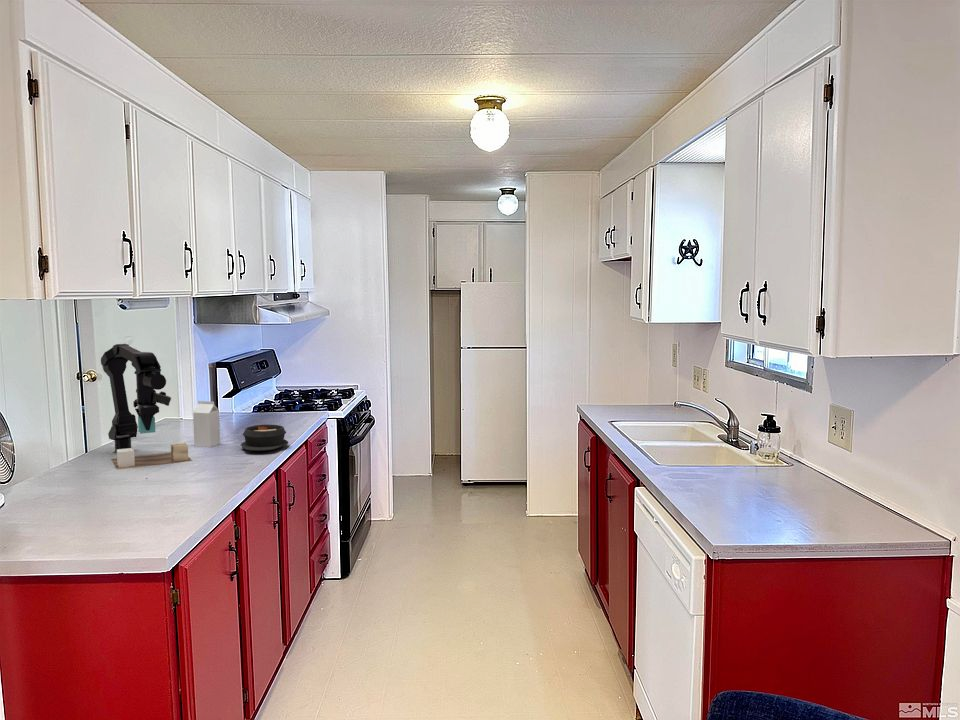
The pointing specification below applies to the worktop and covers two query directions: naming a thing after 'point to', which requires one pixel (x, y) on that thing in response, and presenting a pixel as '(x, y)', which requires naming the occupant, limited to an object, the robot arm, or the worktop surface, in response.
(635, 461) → the worktop surface
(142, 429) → the teal block
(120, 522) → the worktop surface
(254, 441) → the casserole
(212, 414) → the milk carton
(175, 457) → the birch block
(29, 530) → the worktop surface
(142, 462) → the walnut board
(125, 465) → the off-white block
